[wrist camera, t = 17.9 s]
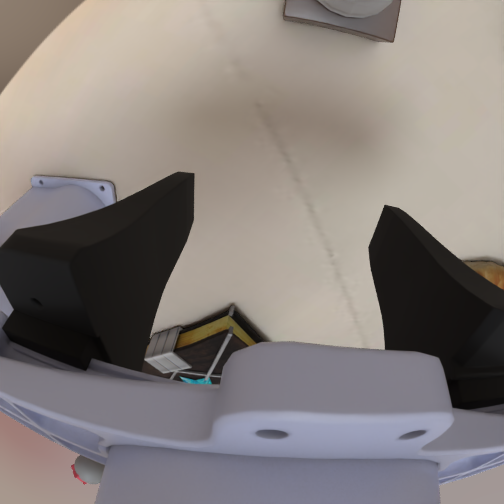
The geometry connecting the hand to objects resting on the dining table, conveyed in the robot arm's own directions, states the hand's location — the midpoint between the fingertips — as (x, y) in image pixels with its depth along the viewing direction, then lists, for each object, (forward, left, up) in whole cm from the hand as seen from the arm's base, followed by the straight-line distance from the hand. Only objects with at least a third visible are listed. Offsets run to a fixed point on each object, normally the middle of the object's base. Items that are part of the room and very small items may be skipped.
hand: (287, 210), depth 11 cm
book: (-5, -30, -10) cm, 32 cm away
